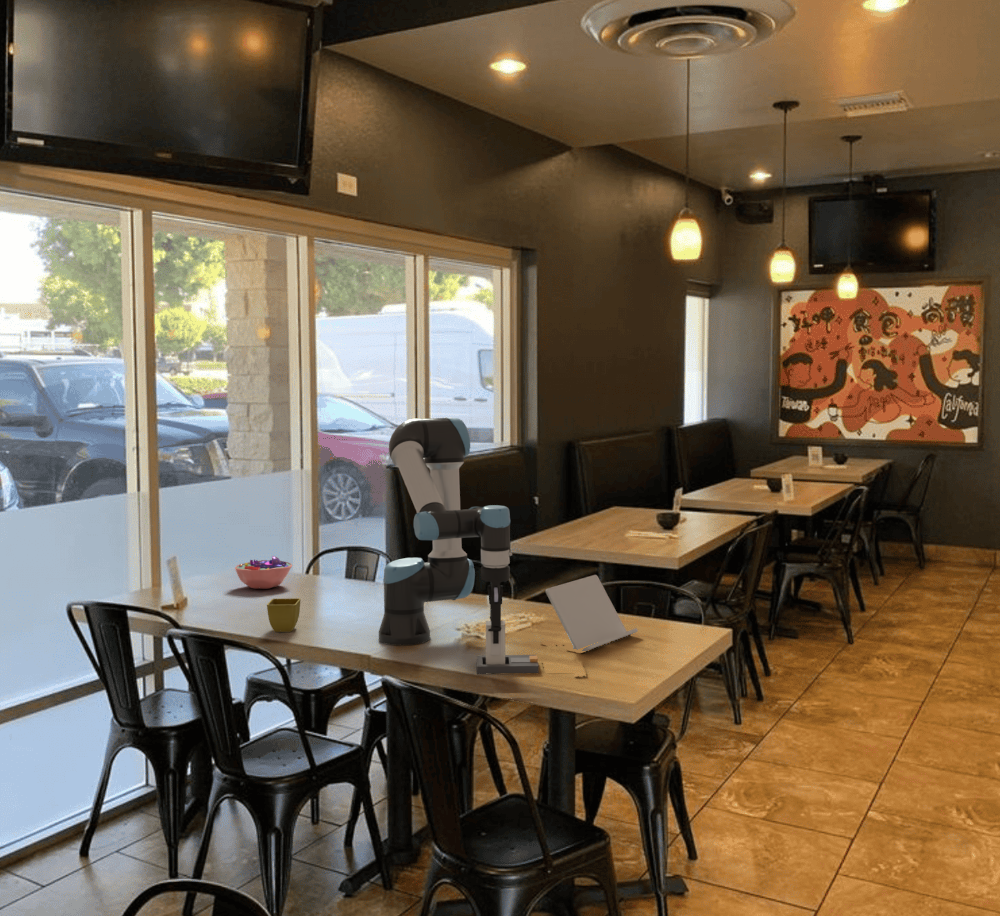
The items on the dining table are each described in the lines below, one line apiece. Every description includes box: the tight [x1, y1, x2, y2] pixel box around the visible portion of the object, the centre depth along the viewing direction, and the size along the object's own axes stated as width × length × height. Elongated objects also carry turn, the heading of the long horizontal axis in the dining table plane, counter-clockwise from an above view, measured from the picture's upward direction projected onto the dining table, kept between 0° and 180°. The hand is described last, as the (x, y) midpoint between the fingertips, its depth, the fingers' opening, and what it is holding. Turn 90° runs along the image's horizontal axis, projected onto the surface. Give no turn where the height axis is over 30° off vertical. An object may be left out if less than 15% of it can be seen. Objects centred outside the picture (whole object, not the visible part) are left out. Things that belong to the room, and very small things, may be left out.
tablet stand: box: [545, 574, 639, 652], centre depth 308 cm, size 18×25×17 cm
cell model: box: [234, 555, 293, 590], centre depth 378 cm, size 17×20×11 cm
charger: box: [485, 620, 506, 664], centre depth 279 cm, size 5×4×12 cm
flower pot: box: [266, 597, 301, 633], centre depth 321 cm, size 9×9×9 cm
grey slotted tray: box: [476, 654, 540, 675], centre depth 279 cm, size 16×10×4 cm, turn 92°
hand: (495, 651), depth 279 cm, fingers closed on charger, 4 cm apart
